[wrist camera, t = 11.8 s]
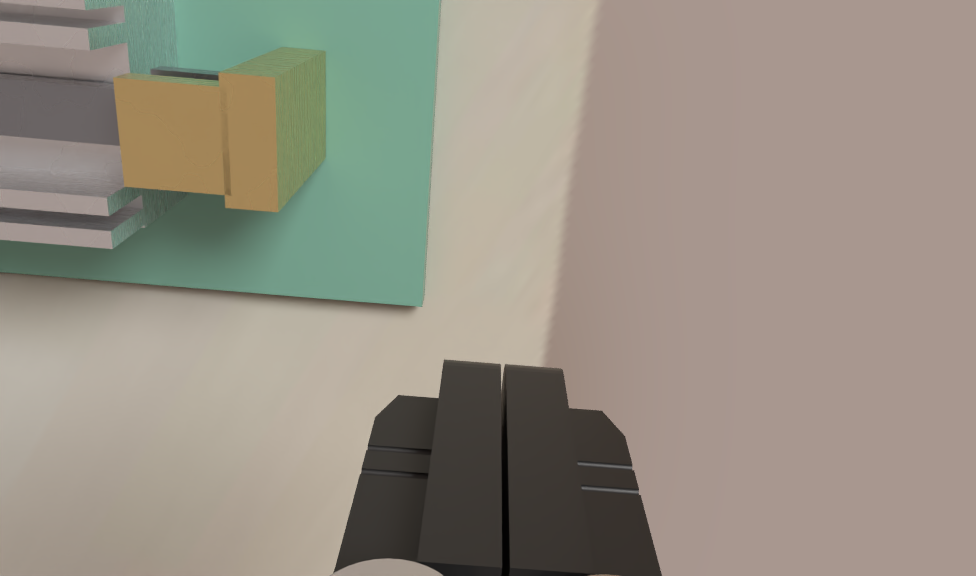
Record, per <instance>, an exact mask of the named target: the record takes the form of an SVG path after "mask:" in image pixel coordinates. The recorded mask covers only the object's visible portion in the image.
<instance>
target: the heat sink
mask: <svg viewBox="0 0 976 576" xmlns="http://www.w3.org/2000/svg"><path fill="white" fill-rule="evenodd" d="M159 66H168V67H178V53H177V39H176V25H175V11H174V0H0V74H10V75H21V76H32V77H43V78H54V79H65V80H76V81H87V82H98V83H110V84H114V83H113V77H116V76H119V75H123V74H126V73H137V74H149V75H151V73H150V69H152V68H155V67H159ZM186 196H188V193H187V192H182V191H170V190H158V189H146V188H135V187H124V179H123V169H122V160H121V150H120V146H114V145H103V144H92V143H81V142H70V141H58V140H47V139H36V138H25V137H14V136H2V135H0V240H10V241H22V242H34V243H46V244H58V245H70V246H82V247H94V248H106V249H113V248H115V247H116V246H117V245H119V244H120V243H121V242H123V241H124V240H125V239H127V238H128V237H129V236H131V235H132V234H133V233H135V232H136V231H137V230H139V229H140V228H145V227H147V226H148V225H149V224H151V223H152V222H153V221H155V220H156V219H157V218H159V217H160V216H161V215H163V214H164V213H165V212H167V211H168V210H169V209H170V208H172V207H173V206H174V205H176V204H177V203H178V202H180V201H181V200H182V199H184V198H185V197H186Z"/></svg>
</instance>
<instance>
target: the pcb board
mask: <svg viewBox="0 0 976 576" xmlns="http://www.w3.org/2000/svg"><path fill="white" fill-rule="evenodd" d="M174 11H175V25H176V39H177V53H178V67H179V68H191V69H202V70H213V71H223V70H226V69H228V68H231V67H233V66H236V65H238V64H241V63H243V62H246V61H248V60H251V59H253V58H256V57H258V56H261V55H263V54H266V53H268V52H271V51H273V50H276V49H278V48H281V47H289V48H300V49H312V50H323V51H326V158H325V159H324V161H323V162H322V163H321V164H320V165H319V166H318V167H317V169H316V170H315V171H314V172H313V173H312V174H311V175H310V177H309V178H308V179H307V180H306V181H305V182H304V183H303V185H302V186H301V187H300V188H299V189H298V190H297V191H296V193H295V194H294V195H293V196H292V197H291V198H290V200H289V201H288V202H287V203H286V204H285V205H284V206H283V208H282V209H281V210H280V211H279V212H268V211H256V210H244V209H233V208H225V195H217V194H205V193H193V192H187V193H188V196H186V197H185V198H184V199H182V200H181V201H180V202H178V203H177V204H176V205H174V206H173V207H172V208H170V209H169V210H168V211H167V212H165V213H164V214H163V215H161V216H160V217H159V218H157V219H156V220H155V221H153V222H152V223H151V224H149V225H148V226H147V227H145V228H140V229H139V230H137V231H136V232H135V233H133V234H132V235H131V236H129V237H128V238H127V239H125V240H124V241H123V242H121V243H120V244H119V245H117V246H116V247H115V248H113V249H106V248H94V247H82V246H70V245H58V244H46V243H34V242H22V241H10V240H0V272H5V273H18V274H30V275H42V276H54V277H66V278H78V279H90V280H103V281H115V282H127V283H139V284H151V285H163V286H175V287H188V288H200V289H212V290H224V291H236V292H248V293H260V294H273V295H285V296H297V297H309V298H321V299H333V300H345V301H357V302H370V303H382V304H394V305H406V306H418V307H422V305H423V300H424V292H425V275H426V257H427V240H428V222H429V205H430V187H431V169H432V152H433V134H434V117H435V99H436V82H437V64H438V47H439V29H440V12H441V0H174Z"/></svg>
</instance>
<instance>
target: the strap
mask: <svg viewBox="0 0 976 576" xmlns="http://www.w3.org/2000/svg"><path fill="white" fill-rule="evenodd" d="M218 72H221V71H213V70H202V69H191V68H179V67H168V66H159V67H155V68H152V69H150V73H151V75H160V76H171V77H183V78H194V79H205V80H217V81H219V76H218ZM0 135H2V136H14V137H25V138H36V139H47V140H58V141H70V142H81V143H92V144H103V145H114V146H120V140H119V131H118V121H117V112H116V102H115V93H114V84H110V83H98V82H87V81H76V80H65V79H54V78H43V77H32V76H21V75H10V74H0Z"/></svg>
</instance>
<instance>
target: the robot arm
mask: <svg viewBox="0 0 976 576" xmlns="http://www.w3.org/2000/svg"><path fill="white" fill-rule="evenodd" d="M638 492H639V488H638V484H637V480H636V476H635V473H634V471H633V470H632V461H631V457H630V454H629V450H628V446H627V442H626V439H625V436H624V435H623V434H622V433H621V432H620V430H619V429H618V428H617V427H616V426H615V425H614V424H613V423H612V422H611V420H610V419H609V418H608V417H607V416H606V415H605V414H604V413H603V412H602V411H597V410H583V409H571V408H569V406H568V399H567V393H566V387H565V380H564V374H563V370H562V369H559V368H546V367H533V366H521V365H508V364H505V367H504V373H503V381H502V390H501V365H500V364H493V363H481V362H468V361H455V360H444V363H443V370H442V378H441V385H440V393H439V398H428V397H415V396H402V395H398V396H397V397H396V398H395V399H394V400H393V401H392V402H391V403H390V404H389V405H388V406H387V407H386V408H384V409H383V410H382V411H381V412H380V413H379V414H378V415H377V416H376V417H375V420H374V424H373V428H372V432H371V435H370V439H369V443H368V450H366V454H365V458H364V462H363V465H362V472H361V474H360V477H359V480H358V484H357V488H356V492H355V495H354V499H353V503H352V507H351V510H350V514H349V518H348V522H347V526H346V529H345V533H344V537H343V541H342V544H341V548H340V552H339V556H338V559H337V563H336V567H335V570H334V572H333V574H332V575H330V576H662V574H661V571H660V567H659V563H658V560H657V556H656V552H655V548H654V545H653V540H652V537H651V533H650V529H649V525H648V522H647V518H646V514H645V510H644V507H643V503H642V499H641V495H639V493H638Z"/></svg>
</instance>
